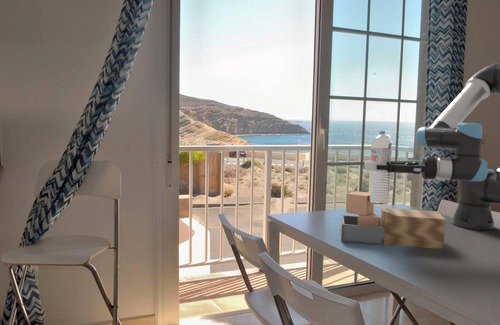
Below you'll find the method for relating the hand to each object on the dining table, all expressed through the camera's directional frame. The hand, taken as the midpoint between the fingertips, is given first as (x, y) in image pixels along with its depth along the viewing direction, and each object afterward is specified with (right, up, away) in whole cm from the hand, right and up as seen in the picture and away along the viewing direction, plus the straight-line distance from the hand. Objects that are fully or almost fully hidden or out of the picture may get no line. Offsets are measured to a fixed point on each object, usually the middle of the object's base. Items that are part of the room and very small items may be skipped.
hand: (365, 165), depth 148 cm
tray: (-1, -26, +3) cm, 26 cm away
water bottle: (+5, -13, 0) cm, 14 cm away
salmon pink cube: (0, -14, +6) cm, 15 cm away
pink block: (+2, -21, +3) cm, 22 cm away
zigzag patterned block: (+15, -27, 0) cm, 31 cm away
